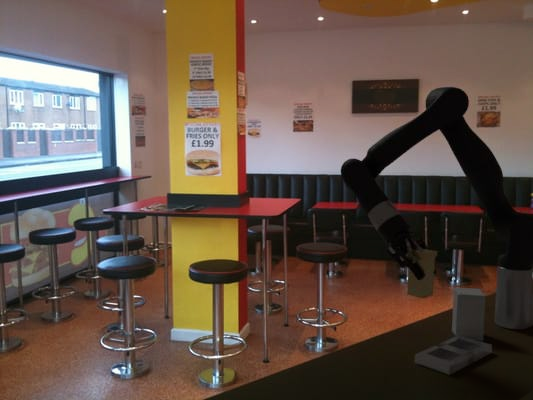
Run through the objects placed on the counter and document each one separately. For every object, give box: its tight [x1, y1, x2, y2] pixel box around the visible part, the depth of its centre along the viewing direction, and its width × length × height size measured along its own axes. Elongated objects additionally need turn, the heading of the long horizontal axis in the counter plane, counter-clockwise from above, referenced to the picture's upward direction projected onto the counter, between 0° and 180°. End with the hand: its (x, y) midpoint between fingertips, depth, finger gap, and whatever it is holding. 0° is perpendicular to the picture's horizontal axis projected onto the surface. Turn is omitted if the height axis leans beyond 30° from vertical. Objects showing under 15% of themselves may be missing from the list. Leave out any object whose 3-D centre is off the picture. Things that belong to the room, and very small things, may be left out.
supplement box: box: [451, 287, 486, 342], centre depth 150 cm, size 7×7×13 cm
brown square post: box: [406, 249, 438, 300], centre depth 136 cm, size 5×5×11 cm
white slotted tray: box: [414, 335, 493, 376], centre depth 133 cm, size 20×9×3 cm, turn 131°
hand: (427, 276), depth 135 cm, fingers closed on brown square post, 4 cm apart
